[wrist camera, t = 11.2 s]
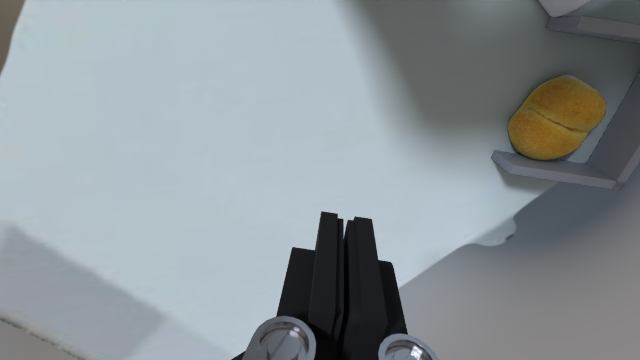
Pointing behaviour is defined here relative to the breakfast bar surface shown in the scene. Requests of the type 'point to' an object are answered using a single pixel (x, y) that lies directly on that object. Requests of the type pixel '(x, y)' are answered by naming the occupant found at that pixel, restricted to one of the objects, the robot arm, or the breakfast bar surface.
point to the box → (618, 139)
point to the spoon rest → (561, 6)
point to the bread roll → (556, 118)
